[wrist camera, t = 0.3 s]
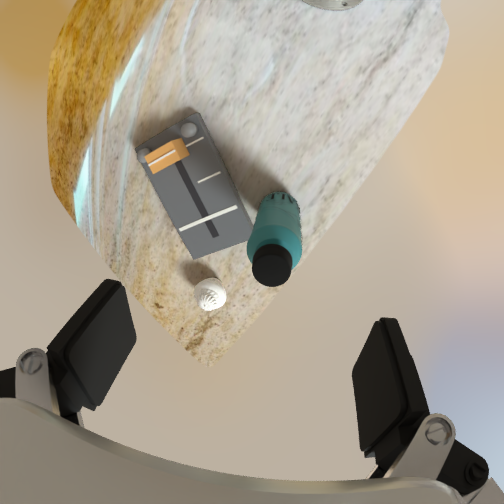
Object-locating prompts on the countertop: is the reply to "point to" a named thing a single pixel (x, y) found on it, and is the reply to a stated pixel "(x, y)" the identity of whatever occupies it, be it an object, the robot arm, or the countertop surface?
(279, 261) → the beverage bottle
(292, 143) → the countertop surface
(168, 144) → the fader tab
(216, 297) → the muffin
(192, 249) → the console board
